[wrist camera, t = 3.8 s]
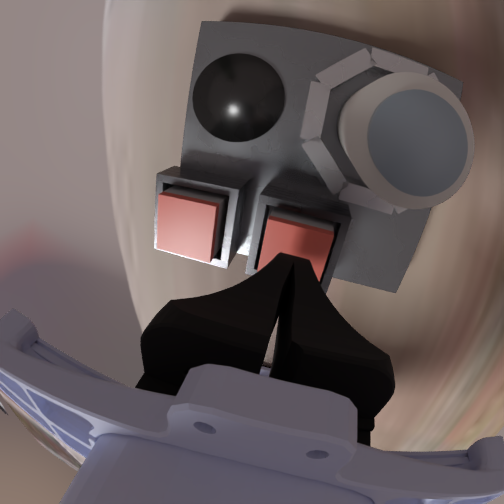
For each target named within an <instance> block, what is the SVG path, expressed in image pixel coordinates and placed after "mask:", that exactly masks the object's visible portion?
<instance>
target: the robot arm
mask: <svg viewBox="0 0 504 504" xmlns="http://www.w3.org/2000/svg"><path fill="white" fill-rule="evenodd" d="M278 316H279V319H278ZM277 319H278V327H277V334H276V342H275V349H274V356H273V361H272V366H271V368H267V367H263V366H262V364H263V361H264V358H265V354H266V351H267V347H268V343H269V340H270V337H271V334H272V332H273V329H274V327H275V324H276V322H277ZM141 353H142V360H143V366H144V372H145V373H144V374H143V376H142V377H141V379H140V380H139V382H138V384H137V385H136V387H135V388H133V387H129V386H126V385H125V384H122V383H120V382H118V381H116V380H114V379H112V378H110V377H108V376H106V375H104V374H102V373H100V372H98V371H96V370H94V369H92V368H90V367H88V366H87V365H85V364H83V363H81V362H79V361H78V360H76V359H74V358H72V357H70V356H69V355H67V354H65V353H64V352H62V351H60V350H58V349H57V348H55V347H54V346H52V345H50V344H49V343H47V342H46V341H44V340H42V339H41V338H39V335H38V331H37V329H36V327H35V325H34V323H33V322H32V321H31V320H30V319H29V318H28V317H26V316H25V315H23V314H22V313H20V312H19V311H17V310H16V309H14V308H12V309H11V310H10V311H9V312H8V313H7V314H6V315H4V316H3V317H2V318H1V319H0V389H1V390H2V391H3V392H4V393H5V394H6V395H7V396H9V397H10V398H11V399H12V400H13V401H14V402H15V403H16V404H17V405H19V406H20V407H21V408H22V409H23V410H24V411H25V412H27V413H28V414H29V415H30V416H31V417H32V418H34V419H35V420H36V421H37V422H38V423H40V424H41V425H42V426H43V427H44V428H46V429H47V430H48V431H49V432H51V433H52V434H53V435H54V436H56V437H57V438H58V439H60V440H61V441H62V442H64V443H65V444H66V445H68V446H69V447H71V448H72V449H73V450H75V451H76V452H78V453H79V454H81V455H82V456H84V457H85V458H86V459H85V461H84V463H83V464H82V466H81V468H80V469H79V471H78V473H77V474H76V476H75V478H74V479H73V481H72V483H71V484H70V486H69V488H68V489H67V491H66V493H65V494H64V496H63V498H62V500H61V501H60V503H59V504H487V503H488V502H490V501H492V500H494V499H496V498H497V497H499V496H500V495H502V494H504V441H503V437H502V436H495V437H486V438H482V439H480V440H478V441H476V442H475V443H474V444H473V445H471V446H470V447H469V448H468V450H456V451H434V452H402V451H383V450H380V449H376V448H373V447H370V431H372V430H373V429H374V427H375V424H374V417H375V416H376V415H377V414H378V413H379V412H380V411H381V409H382V408H383V407H384V406H385V405H386V404H387V402H388V401H389V400H390V398H391V397H392V395H393V394H394V390H395V380H394V373H393V367H392V364H391V360H390V356H389V355H388V354H386V353H385V352H383V351H382V350H380V349H379V348H377V347H376V346H374V345H373V344H371V343H370V342H369V341H367V340H366V339H365V338H364V337H363V336H361V335H360V334H359V333H358V332H357V331H356V330H355V329H354V328H352V327H351V325H350V324H349V323H348V322H347V321H346V320H345V319H344V318H343V317H342V316H341V315H340V314H339V312H338V311H337V310H336V308H335V307H334V306H333V305H332V303H331V302H330V300H329V299H328V297H327V296H326V294H325V292H324V290H323V289H322V287H321V285H320V283H319V281H318V278H317V276H316V274H315V272H314V269H313V267H312V264H311V262H310V260H309V259H305V258H302V257H298V256H294V255H290V254H286V253H282V252H280V253H278V254H277V255H276V256H275V257H274V258H273V259H272V260H271V261H270V262H269V263H268V264H267V265H266V266H264V267H263V268H262V269H261V270H259V271H258V272H257V273H255V274H254V275H252V276H251V277H249V278H248V279H246V280H244V281H243V282H241V283H239V284H237V285H235V286H233V287H230V288H227V289H225V290H222V291H219V292H216V293H212V294H209V295H204V296H200V297H194V298H186V299H177V300H170V301H169V302H168V303H167V304H166V305H165V306H164V307H163V308H162V309H161V310H160V311H159V312H158V313H157V314H156V316H155V317H154V318H153V320H152V321H151V322H150V323H149V325H148V326H147V327H146V329H145V330H144V332H143V334H142V336H141Z"/></svg>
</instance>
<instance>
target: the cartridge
mask: <svg viewBox="0 0 504 504" xmlns="http://www.w3.org/2000/svg"><path fill="white" fill-rule="evenodd" d="M337 132H338V137H339V141H340V143H341V145H342V147H343V149H344V151H345V153H346V154H347V156H348V157H349V159H350V161H351V162H352V164H353V166H354V167H355V169H356V171H357V173H358V174H359V176H360V177H361V179H362V180H363V182H364V183H365V184H366V185H367V186H368V188H369V189H370V190H371V191H373V192H374V193H375V194H376V195H377V196H379V197H380V198H381V199H383V200H385V201H386V202H388V203H390V204H393V205H395V206H398V207H402V208H407V209H424V208H430V207H433V206H436V205H438V204H440V203H443V202H444V201H446V200H447V199H449V198H450V197H451V196H453V195H454V194H455V193H456V192H457V191H458V190H459V189H460V187H461V186H462V185H463V183H464V182H465V180H466V178H467V176H468V174H469V172H470V169H471V166H472V162H473V158H474V134H473V129H472V125H471V122H470V119H469V116H468V114H467V112H466V110H465V108H464V106H463V105H462V103H461V102H460V101H459V99H458V98H457V97H456V96H455V95H454V93H453V92H452V91H451V90H449V89H448V88H447V87H446V86H445V85H443V84H442V83H440V82H439V81H437V80H435V79H433V78H431V77H429V76H426V75H423V74H419V73H414V72H398V73H393V74H389V75H386V76H384V77H381V78H379V79H377V80H376V81H374V82H372V83H370V84H369V85H367V86H365V87H363V88H362V89H360V90H358V91H357V92H355V93H354V94H352V95H351V96H350V97H349V98H348V99H347V100H346V101H345V102H344V104H343V105H342V107H341V109H340V112H339V115H338V120H337Z"/></svg>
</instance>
